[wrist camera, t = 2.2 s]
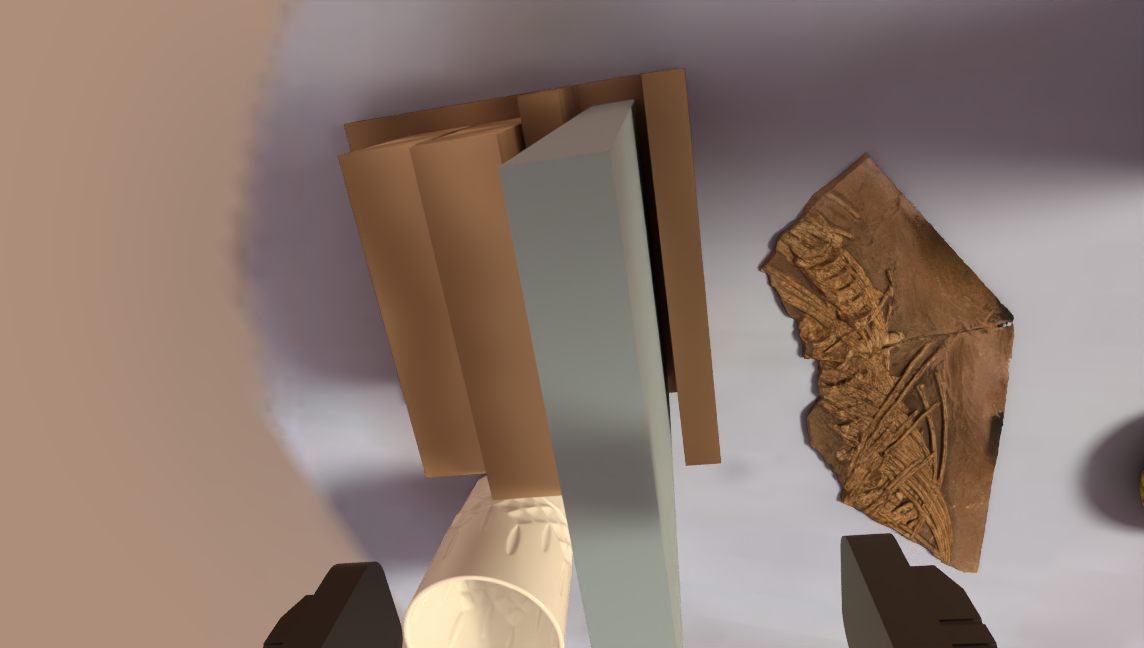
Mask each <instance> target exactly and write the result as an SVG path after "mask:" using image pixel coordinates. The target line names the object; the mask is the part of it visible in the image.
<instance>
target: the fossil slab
mask: <svg viewBox="0 0 1144 648" xmlns="http://www.w3.org/2000/svg"><path fill="white" fill-rule="evenodd" d="M803 213H804V214H803V215H802V216H801V217H800V218H799V219H798V220H797V221H796V222H795V223H794V224H793V225H792V226H791V227H789V228H788V229H787V230H785V231H784V232H782V233H781V234H779V237H778V239H777V244H776V249H775V252H774V253H773V254H772V255H771V256H770V258H769V259H768V260H767V261H766V262H765V264H764V265H763V266H762V268H761V271H762V272H764V273H767V274H768V276H769V279H770V283H771V286H773V287H775V290H776V291H777V292H778V293H779V295H780V297H781V301H782V305H783V307H784V308H785V310H786V312H787V313H788V314H789V315H790V316H791V318H793V319H796V320H797V323H798V329H799V330H800V335H799V336H800V338H801V341H802V344H803V357H804V359H810V358H812V359H816V360H819V365H818V370H819V374H818V389H819V395H820V396H821V397H820V398H819V399H818V400H816V403H815V404H814V406H813V407H812V410H811V412H810V413H809V415H808V416H807V427H808V434H809V437H810V444H811V447H813V448H815V449H816V450H817V451H818V452H819V453H821V454H822V456H823V458H824V461H826V462H827V463H828V464H829V465H830V467H831V469H832V470H833V472H835V473H836V474H837V475H838V477H837V478H838V480H839V482H840V483H841V484H842V487H843V489H844V490H843V492H842V495H841V499H842V501H843V503H844V504H847V505H849V506H852V507H854V508H855V509H857V510H859V511H862V512H863V513H865V514H866V515H868V516H870V517H871V518H872V519H874V520H875V521H876V522H877V523H880V524H882V525H884V526H886V527H890V528H893V529H894V530H896V531H898V532H899V533H901V534H902V535H903V536H904V537H905V538H908V539H909V540H911V541H913V542H914V543H917V544H920V545H922V546H923V547H925V548H926V549H930V550H931V551H932V552H933V553H934V555H935V557H937V558H938V559H940V560H941V561H942V563H944V564H946V565H948V566H951V567H954V568H956V569H958V570H960V571H962V572H971V573H977V571H978V567H979V559H980V554H981V548H982V542H983V537H984V532H985V523H986V518H987V512H988V503H989V498H990V491H991V485H992V480H993V472H994V468H995V464H996V459H997V456H998V448H999V440H1000V435H1001V431H1002V426H1003V418H1004V410H1005V402H1006V394H1007V383H1008V380H1009V372H1008V368H1009V365H1008V363H1009V362H1010V360H1009V359H1008V358H1012V346H1013V339H1014V328H1013V323H1012V324H1011V326H1009V327H1008V326H1006V327H1000V328H999V327H998V326H997V325H998V324H999V323H1006V325H1007V323H1008V322H1013V320H1014V317H1013V315H1012V314H1011V312H1010V311H1009V310H1008V309H1007V308H1006V307H1005V306H1004V305H1003V304H1001V303H1000V301H999V300H998V298H997V297H996V296H995V295H994V294H993V293H992V292H991V291H990V290H989V289H988V288H987V287H986V286H985V284H984V283H983V282H982V281H981V280H980V279H979V278H978V276H977V275H976V274H975V273H974V272H973V271H972V270H971V269H970V268H969V267H968V266H967V265H966V264H965V263H964V262H963V260H962V259H961V258H960V257H959V256H958V255H957V254H956V252H955V251H954V250H953V249H952V248H951V247H950V246H949V245H948V243H947V242H946V241H945V240H944V239H943V238H942V237H941V236H940V235H939V234H938V233H937V231H936V230H935V229H934V228H933V226H932V225H931V224H930V223H928V222H927V221H926V220H925V218H924V217H923V216H922V215H921V213H920V212H918V211H917V210H915V207H913V204H912V203H911V202H910V201H909V200H906V199H905V196H904V195H903V193H902V192H901V191H899V190H898V189H897V188H896V186H895V185H894V183H893V182H892V181H891V180H890V179H889V178H888V177H887V176H886V175H885V174H884V173H883V172H881V169H880V168H879V167H878V166H877V165H876V164H875V163H874V162H873V161H872V160H871V158H870V157H869V156H868V155H867V153H865V154H864V155H863V156H862V157H861V158H860V159H859V160H858V161H857V162H856V163H854V164H853V165H852V166H851V167H849V168H848V169H847V170H846V171H844V172H843V173H842V174H841V175H840V176H838V177H837V178H836V179H835V180H833V181H832V182H831V183H829V184H828V185H826V186H824V187H823V188H821V189H820V190H819V191H817V192H816V193H815V194H814V195H813V196H812V197H811V199H810V200H809V202H808V203H807V204H806V206H805V208H804V211H803Z"/></svg>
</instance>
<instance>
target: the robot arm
mask: <svg viewBox="0 0 1144 648" xmlns="http://www.w3.org/2000/svg"><path fill="white" fill-rule="evenodd" d="M841 585H842V614H843V622H844V628H845V633H846V638H847V642H848V646H849V648H997V645H996V642H995V640H994V638H993V637H992V635H991V633H990V632H989V630H988V628H987V627H986V625H985V624H983V623H982V620H981V617H980V615H979V614H978V612H977V610H976V609H975V607H974V605H973V604H972V602H971V600H970V599H969V597H968V596H967V594H966V592H965V591H964V589H963V588H962V587H960V586H959V585H958V584H957V583H955V582H954V581H953V580H952V579H950V578H949V577H948V576H947V575H946V574H944V573H943V572H942V571H941V570H939V569H938V568H937V567H936V566H934V565H930V566H910V565H909V563H908V561H907V560H906V558H905V556H904V554H903V552H902V550H901V548H900V546H899V544H898V543H897V541H896V539H895V537H894V536H893V535H892V534H890V533H886V534H869V535H851V536H842V538H841ZM402 637H403V636H402V627H401V624H400V620H399V617H398V614H397V611H396V608H395V605H394V602H393V598H392V595H391V592H390V589H389V586H388V583H387V580H386V577H385V573H384V571H383V568H382V566H381V565H380V564H379V563H378V562H360V563H343V564H336V565H334V566H333V567H332V568H331V569H330V570H329V572H328V573H327V575H326V576H325V578H324V579H323V581H322V583H321V584H320V586H319V587H318V589H317V591H316V592H315V594H314V595H306V596H305V597H304V598H303V599H301V600H300V601H299V602H298V603H297V604H296V605H295V606H293V607H292V608H291V609H290V610H289V611H288V612H287V613H286V614H285V615H283V616H282V617H281V618H280V620H279V621H278V623H277V624H276V626H275V627H274V629H273V630H272V632H271V633H270V635H269V636H268V638H267V639H266V641H265V642H264V646H263V648H402V641H403V638H402Z"/></svg>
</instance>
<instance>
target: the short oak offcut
mask: <svg viewBox="0 0 1144 648" xmlns="http://www.w3.org/2000/svg"><path fill="white" fill-rule="evenodd" d="M470 127H471V126H465V127H459V128H453V129H447V130H441V131H435V132H428V133H422V134H416V135H410V136H407V137H403V138H400V139H396V140H393V141H389V142H386V143H382V144H379V145H375V146H372V147H368V148H365V149H361V150H357V151H354V152H350V153H347V154H343V155H340V156H338V158H339V162H340V165H341V169H342V173H343V176H344V180H345V184H346V187H347V191H348V194H349V198H350V202H351V205H352V209H353V213H354V216H355V220H356V224H357V227H358V231H359V234H360V238H361V242H362V245H363V249H364V253H365V256H366V260H367V264H368V267H369V271H370V274H371V278H372V282H373V285H374V289H375V293H376V296H377V300H378V304H379V307H380V311H381V315H382V318H383V322H384V325H385V329H386V333H387V336H388V340H389V344H390V347H391V351H392V355H393V358H394V362H395V365H396V369H397V373H398V376H399V380H400V384H401V387H402V391H403V395H404V398H405V402H406V405H407V409H408V413H409V416H410V420H411V424H412V427H413V431H414V435H415V438H416V442H417V445H418V449H419V453H420V456H421V460H422V464H423V467H424V471H425V475H426V478H429V477H443V476H457V475H470V474H484V473H486V470H485V466H484V462H483V458H482V453H481V449H480V445H479V441H478V437H477V432H476V428H475V424H474V420H473V416H472V411H471V407H470V403H469V399H468V394H467V390H466V386H465V382H464V378H463V373H462V369H461V365H460V361H459V357H458V352H457V348H456V344H455V340H454V335H453V331H452V327H451V323H450V319H449V314H448V310H447V306H446V302H445V298H444V293H443V289H442V285H441V281H440V277H439V272H438V268H437V264H436V260H435V255H434V251H433V247H432V243H431V239H430V234H429V230H428V226H427V222H426V218H425V213H424V209H423V205H422V201H421V196H420V192H419V188H418V184H417V180H416V175H415V171H414V167H413V163H412V159H411V154H410V150H409V148H410V147H413V146H416V145H419V144H422V143H425V142H428V141H431V140H434V139H437V138H440V137H443V136H446V135H449V134H452V133H455V132H458V131H461V130H464V129H467V128H470Z"/></svg>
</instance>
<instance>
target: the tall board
mask: <svg viewBox="0 0 1144 648" xmlns="http://www.w3.org/2000/svg"><path fill="white" fill-rule="evenodd" d="M498 168H499V173H500V178H501V184H502V189H503V194H504V199H505V204H506V209H507V215H508V220H509V225H510V230H511V235H512V240H513V246H514V251H515V256H516V261H517V266H518V271H519V277H520V282H521V287H522V292H523V297H524V302H525V307H526V313H527V318H528V323H529V328H530V333H531V339H532V344H533V349H534V354H535V359H536V364H537V369H538V375H539V380H540V385H541V390H542V395H543V400H544V406H545V411H546V416H547V421H548V426H549V431H550V437H551V442H552V447H553V452H554V457H555V462H556V468H557V473H558V478H559V483H560V488H561V493H562V499H563V504H564V509H565V514H566V519H567V524H568V530H569V535H570V540H571V545H572V550H573V555H574V561H575V566H576V571H577V576H578V581H579V586H580V592H581V597H582V602H583V607H584V612H585V617H586V623H587V628H588V633H589V638H590V643H591V648H683V637H682V619H681V601H680V583H679V565H678V547H677V530H676V512H675V494H674V476H673V458H672V441H671V423H670V405H669V387H668V373H667V364H666V356H665V347H664V339H663V331H662V322H661V314H660V305H659V297H658V288H657V280H656V272H655V263H654V255H653V246H652V238H651V229H650V221H649V213H648V204H647V196H646V187H645V179H644V170H643V162H642V154H641V145H640V137H639V128H638V120H637V111H636V103H635V99H632V100H626V101H620V102H613V103H607V104H601V105H595V106H591V107H589V108H588V109H586V110H585V111H583V112H582V113H580V114H579V115H577V116H576V117H574V118H573V119H571V120H570V121H568V122H566V123H565V124H563V125H562V126H560V127H559V128H557V129H556V130H554V131H553V132H551V133H550V134H548V135H547V136H545V137H543V138H542V139H540V140H539V141H537V142H536V143H534V144H533V145H531V146H530V147H528V148H527V149H525V150H524V151H522V152H521V153H519V154H517V155H516V156H514V157H513V158H511V159H510V160H508V161H507V162H505V163H504V164H502V165H501V166H499V167H498Z"/></svg>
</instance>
